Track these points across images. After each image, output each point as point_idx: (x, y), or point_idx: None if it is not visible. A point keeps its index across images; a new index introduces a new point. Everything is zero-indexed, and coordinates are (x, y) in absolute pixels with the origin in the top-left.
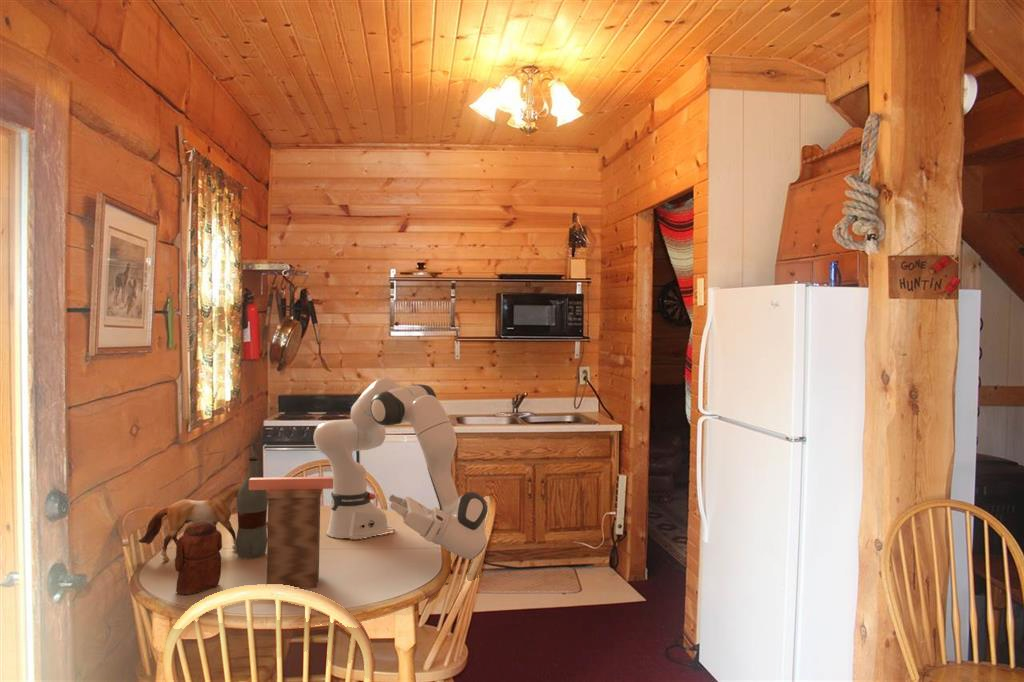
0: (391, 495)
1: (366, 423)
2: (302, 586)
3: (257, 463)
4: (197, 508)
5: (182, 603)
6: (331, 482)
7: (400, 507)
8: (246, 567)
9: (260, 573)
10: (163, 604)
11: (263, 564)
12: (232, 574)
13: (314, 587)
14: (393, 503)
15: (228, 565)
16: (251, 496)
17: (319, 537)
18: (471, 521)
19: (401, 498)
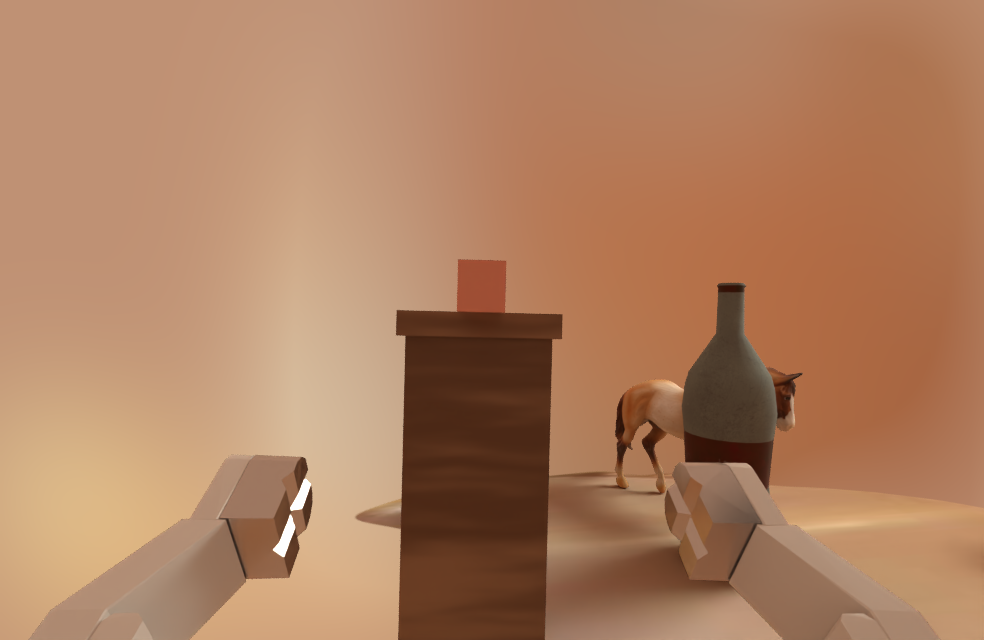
0: (691, 464)
1: None
2: None
3: (738, 302)
4: (658, 399)
5: (372, 519)
6: (458, 279)
7: (138, 558)
8: (613, 564)
9: (566, 588)
10: (378, 506)
11: (649, 587)
12: (553, 551)
13: None
14: (230, 464)
15: (620, 541)
16: (690, 386)
17: (538, 552)
18: None
19: (848, 593)
